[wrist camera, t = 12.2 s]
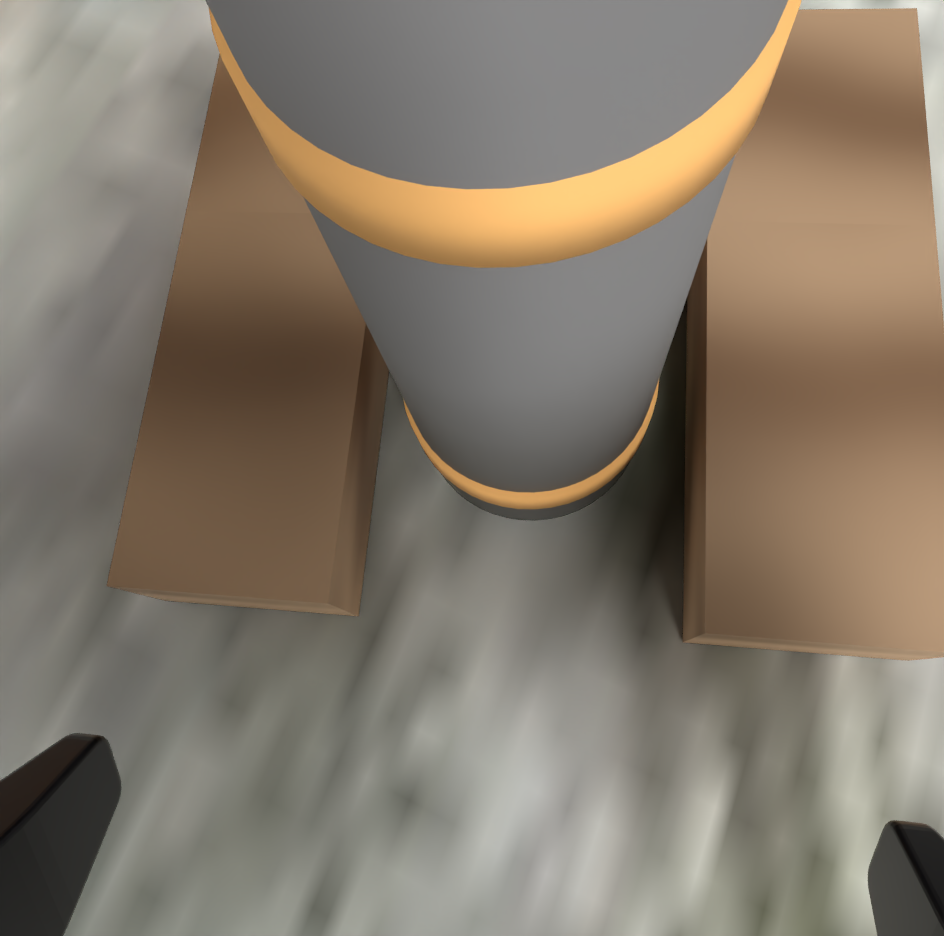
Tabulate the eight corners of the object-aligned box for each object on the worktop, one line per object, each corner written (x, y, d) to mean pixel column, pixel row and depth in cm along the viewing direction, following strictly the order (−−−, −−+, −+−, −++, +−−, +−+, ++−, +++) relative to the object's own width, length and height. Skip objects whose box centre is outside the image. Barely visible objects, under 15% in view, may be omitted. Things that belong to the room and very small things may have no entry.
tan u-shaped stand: (908, 660, 16) (1769, 574, 5) (166, 600, 18) (-496, 436, 7) (871, 64, 20) (1285, -755, 9) (267, 65, 22) (-34, -607, 11)
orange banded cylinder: (621, 547, 17) (805, 159, 5) (395, 498, 18) (52, 58, 6) (662, 335, 18) (892, -406, 6) (450, 297, 19) (270, -422, 7)
